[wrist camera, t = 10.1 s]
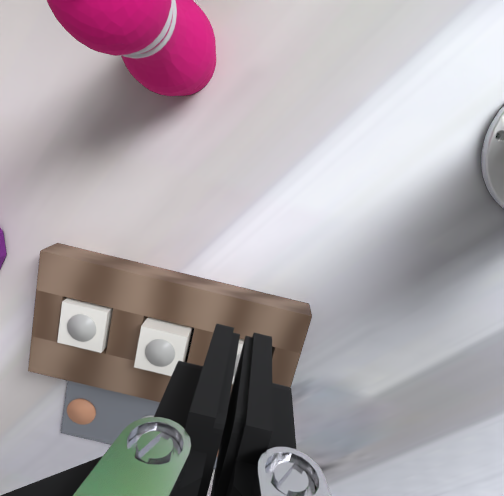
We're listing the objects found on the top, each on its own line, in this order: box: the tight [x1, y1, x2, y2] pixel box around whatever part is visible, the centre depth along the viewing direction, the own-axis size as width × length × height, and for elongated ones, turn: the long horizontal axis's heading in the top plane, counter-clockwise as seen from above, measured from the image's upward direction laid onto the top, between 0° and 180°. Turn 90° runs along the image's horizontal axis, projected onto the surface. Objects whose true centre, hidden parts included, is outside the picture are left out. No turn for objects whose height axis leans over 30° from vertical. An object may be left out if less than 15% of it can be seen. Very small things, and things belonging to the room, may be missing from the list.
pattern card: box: [61, 381, 219, 469], centre depth 44 cm, size 20×7×1 cm, turn 77°
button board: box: [28, 243, 312, 402], centre depth 40 cm, size 26×13×3 cm, turn 77°
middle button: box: [134, 317, 193, 376], centre depth 38 cm, size 4×4×3 cm
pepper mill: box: [47, 0, 216, 96], centre depth 25 cm, size 7×7×20 cm
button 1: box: [57, 298, 113, 353], centre depth 39 cm, size 4×4×3 cm
